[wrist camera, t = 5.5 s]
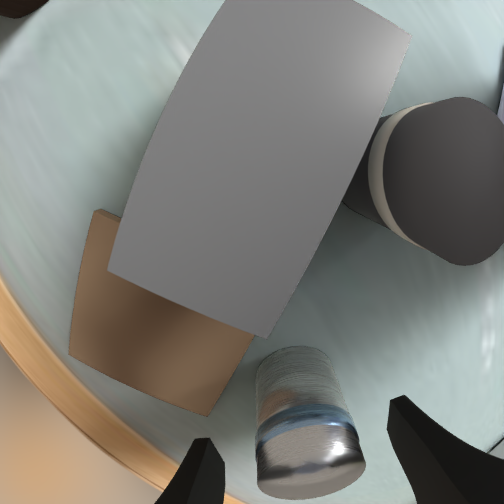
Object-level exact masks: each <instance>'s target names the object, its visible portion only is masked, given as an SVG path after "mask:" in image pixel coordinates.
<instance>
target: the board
mask: <svg viewBox="0 0 504 504" xmlns="http://www.w3.org/2000/svg"><path fill="white" fill-rule="evenodd" d="M121 219H122V218H119V217H117V216H115V215H113V214H111V213H109V212H106V211H104V210H102V209H99V210H96V211H94V213H93V216H92V220H91V224H90V228H89V232H88V236H87V240H86V244H85V248H84V253H83V257H82V262H81V267H80V272H79V278H78V283H77V289H76V295H75V302H74V308H73V316H72V324H71V333H70V343H69V355H70V356H72V357H74V358H76V359H77V360H79V361H81V362H83V363H85V364H86V365H88V366H90V367H92V368H94V369H96V370H98V371H99V372H101V373H103V374H105V375H107V376H109V377H111V378H113V379H115V380H117V381H119V382H122V383H124V384H126V385H128V386H130V387H132V388H134V389H137V390H139V391H141V392H143V393H146V394H148V395H150V396H153V397H155V398H158V399H160V400H163V401H165V402H168V403H170V404H173V405H175V406H178V407H181V408H183V409H186V410H189V411H192V412H194V413H197V414H200V415H203V416H206V417H207V416H208V415H209V413H210V412H211V410H212V408H213V407H214V405H215V403H216V402H217V400H218V398H219V397H220V395H221V393H222V392H223V390H224V388H225V386H226V385H227V383H228V381H229V380H230V378H231V376H232V375H233V373H234V371H235V369H236V368H237V366H238V364H239V363H240V361H241V359H242V357H243V356H244V354H245V352H246V350H247V349H248V347H249V345H250V343H251V341H252V340H253V338H254V336H255V335H253V334H251V333H248V332H245V331H243V330H240V329H238V328H235V327H233V326H230V325H228V324H225V323H223V322H220V321H218V320H215V319H213V318H210V317H208V316H205V315H203V314H201V313H198V312H196V311H194V310H191V309H189V308H187V307H184V306H182V305H180V304H177V303H175V302H173V301H171V300H168V299H166V298H164V297H162V296H159V295H157V294H155V293H153V292H151V291H149V290H146V289H144V288H142V287H140V286H138V285H136V284H134V283H132V282H130V281H127V280H125V279H123V278H121V277H119V276H117V275H115V274H113V273H111V272H109V271H107V268H108V264H109V260H110V257H111V253H112V249H113V246H114V242H115V239H116V235H117V232H118V228H119V225H120V222H121Z"/></svg>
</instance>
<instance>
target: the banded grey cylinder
mask: <svg viewBox="0 0 504 504" xmlns="http://www.w3.org/2000/svg"><path fill="white" fill-rule="evenodd" d="M342 201H343V202H344V203H345V204H346V205H347V206H348V207H349V208H351V209H352V210H354V211H355V212H357V213H359V214H361V215H363V216H365V217H367V218H369V219H371V220H373V221H375V222H377V223H379V224H381V225H383V226H385V227H386V228H388V229H390V230H392V231H393V232H394V233H396V234H397V235H398V236H400V237H402V238H403V239H405V240H407V241H409V242H410V243H412V244H414V245H416V246H418V247H420V248H422V249H425V250H429V251H430V252H432V253H434V254H436V255H437V256H439V257H441V258H443V259H444V260H446V261H448V262H450V263H453V264H456V265H463V266H466V265H473V264H477V263H480V262H482V261H484V260H486V259H487V258H489V257H490V256H491V255H493V254H494V253H495V252H496V251H497V250H498V249H499V248H500V246H501V245H502V244H503V243H504V124H503V123H502V121H501V120H500V119H499V118H498V116H497V115H496V114H495V113H494V112H493V111H492V110H491V109H489V108H488V107H487V106H485V105H484V104H482V103H480V102H479V101H476V100H474V99H471V98H465V97H455V98H450V99H446V100H442V101H438V102H435V103H432V102H431V103H423V104H420V105H416V106H413V107H409V108H406V109H403V110H400V111H398V112H396V113H395V114H392V115H389V116H385V117H382V118H379V120H378V123H377V125H376V127H375V130H374V132H373V134H372V136H371V139H370V141H369V143H368V145H367V148H366V150H365V152H364V154H363V156H362V158H361V161H360V163H359V165H358V167H357V169H356V171H355V174H354V176H353V178H352V180H351V182H350V184H349V186H348V188H347V190H346V192H345V194H344V196H343V198H342Z"/></svg>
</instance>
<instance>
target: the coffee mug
mask: <svg viewBox="0 0 504 504" xmlns="http://www.w3.org/2000/svg"><path fill="white" fill-rule="evenodd" d="M47 1H49V0H0V16H5V17H9V18H14V19H15V18H21V17H23V16H26V15H28V14H30V13H31V12H33V11H35V10H36V9H38V8H39V7H41V6H42V5H44V4H45V3H46V2H47Z"/></svg>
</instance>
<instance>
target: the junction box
mask: <svg viewBox="0 0 504 504" xmlns="http://www.w3.org/2000/svg"><path fill="white" fill-rule="evenodd" d="M411 38H412V35H410V34H409V33H407V32H406V31H404V30H403V29H401V28H400V27H398V26H397V25H395V24H393V23H392V22H390V21H389V20H387V19H385V18H384V17H382V16H380V15H379V14H377V13H375V12H374V11H372V10H370V9H368V8H366V7H365V6H363V5H361V4H359V3H357V2H355V1H353V0H225V2H224V3H223V5H222V6H221V8H220V9H219V11H218V12H217V14H216V15H215V17H214V18H213V20H212V21H211V23H210V25H209V26H208V28H207V29H206V31H205V33H204V34H203V36H202V38H201V39H200V41H199V43H198V45H197V46H196V48H195V50H194V52H193V53H192V55H191V57H190V59H189V60H188V62H187V64H186V66H185V68H184V70H183V72H182V74H181V75H180V77H179V79H178V81H177V83H176V85H175V87H174V89H173V91H172V93H171V95H170V97H169V99H168V101H167V104H166V106H165V108H164V110H163V112H162V114H161V116H160V119H159V121H158V123H157V125H156V128H155V130H154V132H153V135H152V137H151V139H150V142H149V144H148V147H147V149H146V151H145V154H144V156H143V159H142V162H141V164H140V167H139V169H138V172H137V175H136V177H135V180H134V183H133V186H132V189H131V191H130V194H129V197H128V200H127V203H126V206H125V209H124V212H123V215H122V219H121V222H120V225H119V228H118V232H117V235H116V239H115V242H114V246H113V249H112V253H111V257H110V260H109V264H108V268H107V271H109V272H111V273H113V274H115V275H117V276H119V277H121V278H123V279H125V280H127V281H130V282H132V283H134V284H136V285H138V286H140V287H142V288H144V289H146V290H149V291H151V292H153V293H155V294H157V295H159V296H162V297H164V298H166V299H168V300H171V301H173V302H175V303H177V304H180V305H182V306H184V307H187V308H189V309H191V310H194V311H196V312H198V313H201V314H203V315H205V316H208V317H210V318H213V319H215V320H218V321H220V322H223V323H225V324H228V325H230V326H233V327H235V328H238V329H240V330H243V331H245V332H248V333H251V334H253V335H256V336H259V337H261V338H264V339H267V338H268V337H269V335H270V333H271V331H272V330H273V328H274V326H275V324H276V323H277V321H278V319H279V318H280V316H281V314H282V312H283V310H284V309H285V307H286V305H287V303H288V302H289V300H290V298H291V296H292V294H293V293H294V291H295V289H296V287H297V285H298V284H299V282H300V280H301V278H302V276H303V274H304V272H305V271H306V269H307V267H308V265H309V263H310V261H311V259H312V257H313V256H314V254H315V252H316V250H317V248H318V246H319V244H320V242H321V240H322V238H323V236H324V234H325V232H326V231H327V229H328V227H329V225H330V223H331V221H332V219H333V217H334V215H335V213H336V211H337V209H338V207H339V205H340V203H341V201H342V198H343V196H344V194H345V192H346V190H347V188H348V186H349V184H350V182H351V180H352V178H353V176H354V174H355V171H356V169H357V167H358V165H359V163H360V161H361V158H362V156H363V154H364V152H365V150H366V148H367V145H368V143H369V141H370V139H371V136H372V134H373V132H374V130H375V127H376V125H377V123H378V120H379V118H380V116H381V113H382V111H383V109H384V106H385V104H386V102H387V99H388V97H389V94H390V92H391V90H392V87H393V85H394V82H395V80H396V77H397V75H398V72H399V70H400V67H401V64H402V62H403V59H404V57H405V54H406V51H407V49H408V46H409V43H410V41H411Z"/></svg>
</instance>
